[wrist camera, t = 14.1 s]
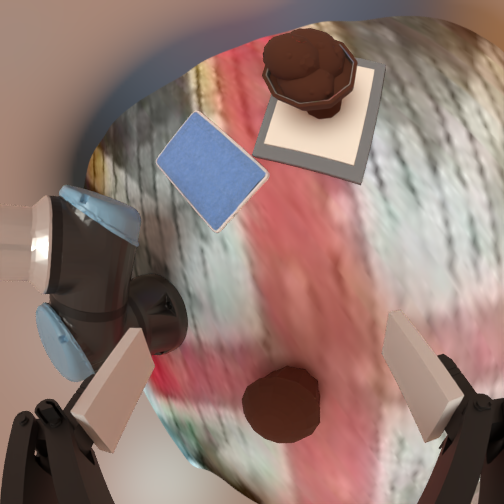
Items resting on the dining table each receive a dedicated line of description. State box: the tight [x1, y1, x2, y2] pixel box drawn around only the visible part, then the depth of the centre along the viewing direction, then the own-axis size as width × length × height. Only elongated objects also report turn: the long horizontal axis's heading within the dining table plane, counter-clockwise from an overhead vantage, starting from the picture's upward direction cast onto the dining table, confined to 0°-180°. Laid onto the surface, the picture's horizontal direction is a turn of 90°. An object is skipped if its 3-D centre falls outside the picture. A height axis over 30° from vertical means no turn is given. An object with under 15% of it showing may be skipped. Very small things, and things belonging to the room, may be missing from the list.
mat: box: [252, 57, 386, 185], centre depth 35 cm, size 16×20×1 cm
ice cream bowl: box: [262, 28, 358, 119], centre depth 27 cm, size 11×11×15 cm
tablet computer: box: [156, 111, 270, 233], centre depth 43 cm, size 19×13×1 cm, turn 44°
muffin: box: [242, 366, 320, 443], centre depth 34 cm, size 12×11×10 cm
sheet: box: [264, 66, 374, 166], centre depth 34 cm, size 13×16×1 cm
